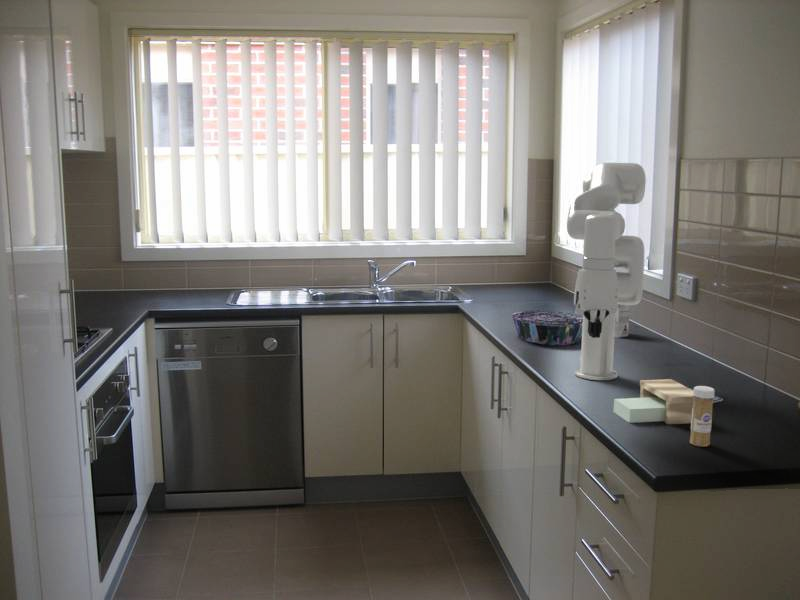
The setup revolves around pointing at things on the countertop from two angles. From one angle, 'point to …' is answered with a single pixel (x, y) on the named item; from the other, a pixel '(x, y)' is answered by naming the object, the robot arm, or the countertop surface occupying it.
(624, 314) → the coffee box
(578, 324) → the decorative bowl
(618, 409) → the mint green block
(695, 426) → the sprinkles bottle
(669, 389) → the birch shelf
